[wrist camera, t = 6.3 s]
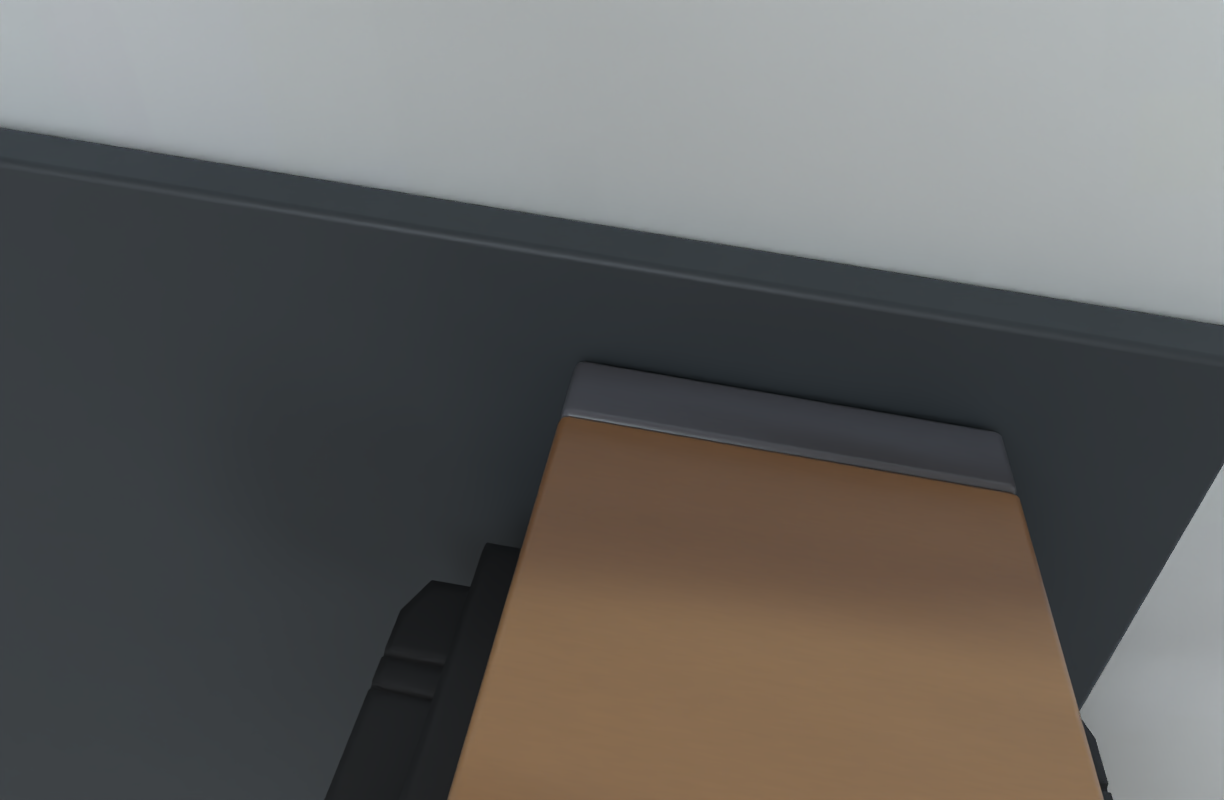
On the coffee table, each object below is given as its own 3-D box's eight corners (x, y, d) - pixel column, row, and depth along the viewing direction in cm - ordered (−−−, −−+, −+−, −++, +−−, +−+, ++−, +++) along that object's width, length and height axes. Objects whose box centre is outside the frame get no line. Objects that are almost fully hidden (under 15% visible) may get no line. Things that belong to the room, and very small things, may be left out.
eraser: (576, 355, 11) (439, 822, 7) (1004, 429, 11) (1153, 959, 7) (535, 716, 15) (426, 1180, 10) (859, 776, 14) (891, 1275, 10)
